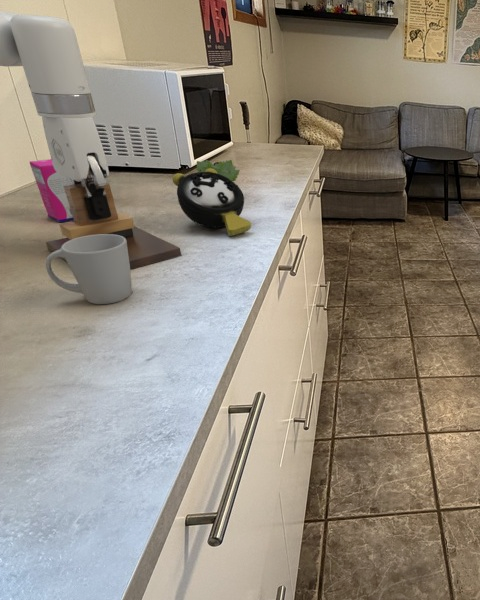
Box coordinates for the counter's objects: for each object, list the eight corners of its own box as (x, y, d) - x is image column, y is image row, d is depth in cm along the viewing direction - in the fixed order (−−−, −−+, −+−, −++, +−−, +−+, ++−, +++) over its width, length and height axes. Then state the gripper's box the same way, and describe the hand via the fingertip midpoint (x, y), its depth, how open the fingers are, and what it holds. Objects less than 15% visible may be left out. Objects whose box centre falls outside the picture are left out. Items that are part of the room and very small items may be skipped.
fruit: (237, 202, 125) (240, 204, 112) (191, 198, 120) (189, 199, 107) (238, 163, 123) (241, 160, 110) (192, 156, 118) (190, 152, 105)
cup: (138, 303, 69) (123, 249, 65) (53, 314, 65) (32, 257, 61) (141, 282, 75) (128, 231, 71) (63, 291, 71) (45, 238, 67)
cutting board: (94, 279, 75) (91, 270, 74) (48, 249, 84) (45, 241, 83) (181, 255, 85) (180, 247, 85) (132, 231, 94) (130, 224, 93)
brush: (74, 249, 81) (56, 191, 76) (64, 243, 83) (46, 186, 78) (136, 235, 88) (123, 182, 84) (126, 230, 90) (113, 177, 86)
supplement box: (79, 210, 102) (63, 157, 97) (91, 217, 99) (75, 162, 94) (47, 216, 98) (28, 160, 93) (58, 223, 95) (39, 165, 90)
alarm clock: (197, 256, 94) (147, 188, 88) (218, 233, 107) (176, 172, 100) (250, 233, 94) (204, 162, 87) (264, 213, 107) (226, 150, 100)
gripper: (16, 100, 76) (52, 210, 85) (58, 112, 69) (93, 232, 77) (70, 99, 82) (99, 202, 90) (115, 110, 74) (142, 222, 83)
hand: (96, 215), depth 84 cm, fingers closed on brush, 2 cm apart
